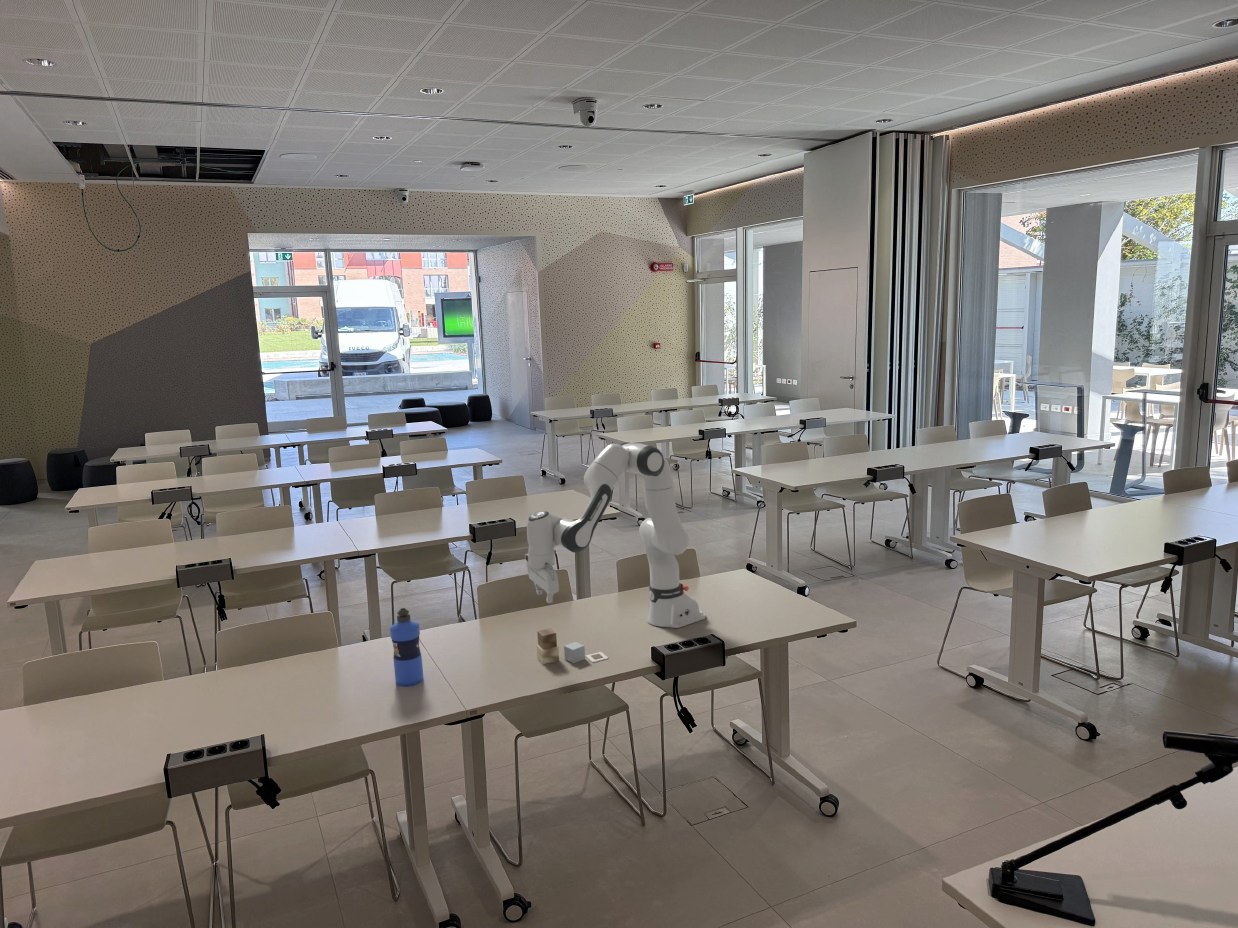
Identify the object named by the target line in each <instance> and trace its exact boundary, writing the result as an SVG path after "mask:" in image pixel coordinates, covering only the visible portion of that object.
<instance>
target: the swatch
mask: <svg viewBox="0 0 1238 928" xmlns="http://www.w3.org/2000/svg"><path fill="white" fill-rule="evenodd" d="M585 658H586V659H587V660H588V661H590V662H591V663H592V664H593V663H597V662H600V661H606V660H609V657H608V656H607V655H605V653H603V652H602V651H598V652H594V653H591V654H585Z"/></svg>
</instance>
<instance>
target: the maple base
mask: <svg viewBox="0 0 1238 928" xmlns="http://www.w3.org/2000/svg"><path fill="white" fill-rule="evenodd" d="M535 645H536V658H537V659H538V661H540V662H541V664H542V665H544V664H548V663H552V662H558V661H560V651H559V649H560V648H559V646H558V645H557V647H553V648H548V649H544V650H543V649H542V648H541V647H540V646H539V645H538V643H537V644H535Z"/></svg>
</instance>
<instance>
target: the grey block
mask: <svg viewBox="0 0 1238 928" xmlns="http://www.w3.org/2000/svg"><path fill="white" fill-rule="evenodd" d="M585 648H586V647H585V645H584V644H583V643H582V644H581V643H579V642H577V641H573V642H570V643H568V644H565V645H563V652H564V660H566V661H568V662H570V663H572V664H576V663H578V662H580V661H583V660H586V652H585V650H586V649H585Z"/></svg>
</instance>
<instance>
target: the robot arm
mask: <svg viewBox="0 0 1238 928" xmlns="http://www.w3.org/2000/svg"><path fill="white" fill-rule="evenodd" d="M625 472H627V473H629V474H633V475H641V476H642V484H643V494H644V495H643V496H644V503H645V504H644V505H645V509H646V511H647V513H648V515H649V517H648V518H645V519H644V520H643V521H642V522H641V523H640V526H639V529H638V534H639V537H640V539H641V540H642V543H643V545H644V548H645V552H646V557H647V560H648V567H649V582H650V583H649V585H648V589H649V590H648V591H649V602H650V603H649V609H648V610H649V611H648V616H647V618H646V619H647V620H646V621H647V623H648V624H649V625H652V626H656V627H661V628H672V629H679V628H681V627H684V626H685V627H686V626H688V625H691V624H694V623H696V622H700V621H702V620H705V619H706V617H707V616H706V614H705V612H704V611H702V609H700V606H699V603H698V601H697V600H696V599H695V598H694V597H692V596H691V595H689V594H688V593H686V592H687V591H689V586H688V585H686V584H683V583H681V582H680V565H679V562H678V560H677V558H676V556H679V555H682V554H683V553H684V552H685V551H686V550H687V549H688V547H689V544H690V543H689V542H690V539H689V536H688V534H687V533H686V531H685V529H684V527H683V525H682V521H681V519H680V515H679V513H678V512H679V511H678V510H677V504H676V499H675V490H674V481H673V480H674V479H673V474H672V469H671V466H670V463H669V461H668V460H667V458H664V455H663V453H662V452H661V450H660V449H658V448H657V447H655V446H653V445H647V444H644V443H635V442H633V443H632V442H623V443H619V444H618V443H611V444H608V445H607V446H605V448H604V449H602V450H601V451H600V453H599V454H598V455H596V457H595V459H594V460H593V461H592V462H591V463H590V465H589V466H588V468H587V470H586V471H585V473H584V475H583V483H584V486H585V488H586V490H587V491H588V492H589V493H590V499H589V502H588V503H587V505H586V507H585V509H584V511H583V512H582V514H581V516H580V517H579V518H578V519H577V520H572V519H570V518H568V517H565V516H561V515H560V516H557V515H555V514H552V513H550V512H549V511H547V510H546V511H545V510H542V511H536V512H534V513H531V514H530V515H529V516H528V519H527V521H526V522H527V523H526V538H527V543H528V551H527V553H526V554H524V559H525V561H526V570H527V574H528V577H529V580H531V581H532V582H533V584H534V588H535V592H536V595H538V596H540V595H543V592H546V598H545V600H546V603H548V604H553V603H554V596H555V595H554V594H557V593H559V590H560V585H559V579H558V572H557V570H555V568H554V566H555V565H556V558H555V557H556V556H555V547H556V546H559V547H562V548H565V549H566V550H568V551H570V552H571V553H576V554H578V553H581V552H583V551H585V550H586V549H587V548H588V547H589V545H590V543H591V541H592V538H593V535H594V532H595V530H596V529H597V526H598V524H599V523H600V520H601V519H602V516H603V515H604V514H605V511H606V509H607V508H608V505H609V503H610V501H611V499H612V496H613V495H612V494H613V489H614V488H615V486H616V484H617V483H618V481H619V480H620V478H621V477H622V475H623V474H624V473H625Z"/></svg>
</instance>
